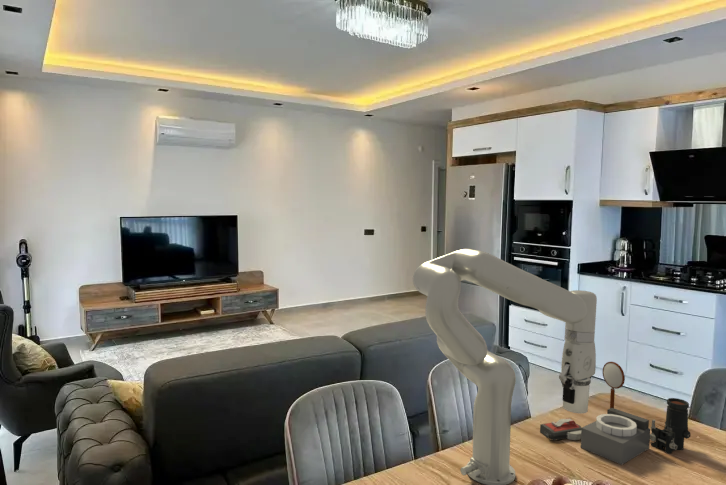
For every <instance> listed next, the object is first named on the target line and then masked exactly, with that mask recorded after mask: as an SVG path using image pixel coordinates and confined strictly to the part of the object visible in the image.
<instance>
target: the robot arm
mask: <svg viewBox="0 0 726 485" xmlns="http://www.w3.org/2000/svg"><path fill="white" fill-rule="evenodd" d="M462 281H467V282H470V283H473V284H474V285H477V286H479V287H481V288H483V289H485V290H488V291H489V292H492V293H494V294H496V295H498V296H501V297H502V298H504V299H507V300H509V301H512V302H514V303H517V304H519V305H522V306H526V307H530V308H533V309H536V310H538V312H540V313H541V314H542V315H544V316H546V317H549V318H552V319H554V320H555V319H556V320H558V321H561V322H563V323H565V324H564V339H563V340H564V344H563V349H562V356H561V365H560V366H561V367H560V369H561V371H560V373H559V376H558V379H559V381H560V383H561V384H562V385H561V386H562V402H563V401H565V402H568V403H571V404H574V399H575V389H573V388H574V385H575V382H576V380H577V381H578V380H582V379H585V378H588V377H589V378H590V383H589V385H590V384H591V383H592V380H591V379H592V377H593V376H595V374H596V368H597V367H596V366H597V365H596V363H597V362H596V360H597V358H596V357H597V354H596V342H595V335H596V334H595V332H596V331H595V330H596V321H597V320H596V319H597V318H596V317H597V300H598V299H597V294H595V293H594V292H592V291H587V290H579V289H578V290H577V289H576V290H567V289H566V288H563V287H561V286H559V285H557V284H555V283H553V282H550V281H547V280H545V279H542V277H539V276H537V275H535V274H534V273H533V274H532V273H531V272H528V271H525V270H524V269H521V268H519V267H518V266H515V265H513V264H512V263H509V262H506V261H505V260H503V259H501V258H499V257H497V256H495V255H493V254H491V253H489V252H486V251H483V250H478V249H471V248H463V249H459V250H455V251H452V252H450V253H447V254H445V255H442V256H439V257H437V258H434V259H432V260H428V261H425V262H423V263H422V264H420V265H419V266H418V267H417V268H416V269H415V270H414V272H413V274H412V283H413V285H414V287H415V289H416V290H417V292H419V293H420V294H423V295H425V296H426V302H425V319H426V322H427V324H428V326H429V328H430V329H431V331H432V332H433V334H435V335H436V344H437V347H438V348H439V350H440V351H441V352H442V354H443V355H444V356H445V357H446V358H447V359H448V360H449V361H450V363H451V364H452V365H453V366H454V367H455V368H456V369H457V370H458V371H459V372H460V373H461V374H462V376H464V377H465V378H466V379H467V380H469V381H470V382H472V383H473V384H474V385H476V386H477V389H478V390H477V393H476V396H475V399H474V401H473V402H474V403H473V411H472V413H473V419H472V420H473V421H472V423H473V426H472V428H473V429H472V457H469V461H468V462H467V463H466V465H464V466H462V467H460V473H461V475H463V476H466V475H468V476H469V477H470V478H471V479H472V480H473V481H475V482H478V483H480V484H483V485H509V484H511V483H513V482H514V480H515V479H516V470H515V468H514V467H513V466H512V465H511V464H510V462H511V461H510V456H511V424H512V423H511V422H512V420H511V419H512V418H511V416H512V401H513V394H514V390H515V388H516V387H515V386H516V383H517V382H516V378H517V377H516V373H515V372H516V371H515V369H514V368H513V367H512V365H511V364H510V363H509V362H508V361H507V360H505V359H504V358H503V357H500V356H499V355H497V354H495V353H493V352H491V351H490V350H488V345H487V342H486V340H485V338H484V337H483V335H482V334H481V333H480V332H479V331H478V330H477V329H476V328H475V327H474V325H472V323H470V321H469V320H468V319H467V318H466V316H464V314H463V313H462V312H461V310H460V308H459V297H460V294H461V289H462V286H461V282H462ZM569 375H571V376H572V377H570V376H569ZM568 379H571V384H570V382H569V381H568Z"/></svg>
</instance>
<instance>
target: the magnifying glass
mask: <svg viewBox="0 0 726 485" xmlns="http://www.w3.org/2000/svg"><path fill="white" fill-rule="evenodd" d="M602 378H603V379H604V382H605V383H606V385H607V386H608V387H610V394H609V396H610V398H609V409H610V408H614V409H615V395H616V394H615V393H616V389H617V390H618V389H621V388H622V387H623V385H625V381H626V380H625V379H626V376H625V371H624V370H623V368H622V367H621V366H620V365H619V364H618V363H617V362H615V361H607V362H606V363H604V365H603V367H602Z"/></svg>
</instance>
